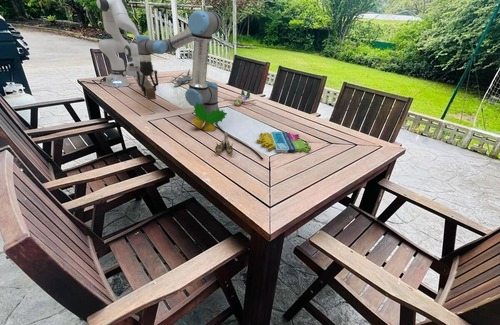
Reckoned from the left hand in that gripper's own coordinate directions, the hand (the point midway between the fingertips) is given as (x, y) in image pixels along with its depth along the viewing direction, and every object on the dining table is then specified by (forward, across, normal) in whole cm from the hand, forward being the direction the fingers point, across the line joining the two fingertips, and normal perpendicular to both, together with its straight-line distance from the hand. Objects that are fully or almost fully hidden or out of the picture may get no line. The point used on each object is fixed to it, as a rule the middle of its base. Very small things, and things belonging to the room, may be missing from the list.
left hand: (141, 81), depth 213 cm
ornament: (+11, -26, +87) cm, 92 cm away
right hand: (+1, 0, +38) cm, 38 cm away
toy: (+11, -73, +40) cm, 83 cm away
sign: (+10, -58, +122) cm, 135 cm away
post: (+2, 0, +19) cm, 19 cm away
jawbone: (+10, -22, +120) cm, 122 cm away
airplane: (+12, -45, -36) cm, 59 cm away
